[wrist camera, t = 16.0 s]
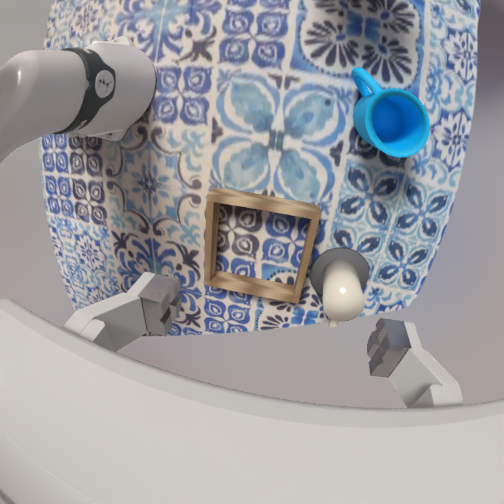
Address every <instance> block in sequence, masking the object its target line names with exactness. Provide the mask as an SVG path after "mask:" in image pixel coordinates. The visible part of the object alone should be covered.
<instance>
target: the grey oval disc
mask: <svg viewBox="0 0 504 504" xmlns="http://www.w3.org/2000/svg"><path fill="white" fill-rule="evenodd" d="M338 259H344V260H348V261H350V262H352V263H353V264H354V265H355V266H356V268H357V272H358V276H359V280H360V285H361V289H363V288H364V286H365V285H366V283H367V280H368V277H369V269H368V265H367V262H366V260H365V259H364V257H363V256H362V255H361V254H360V253H358V252H357V251H355V250H352V249H349V248H333V249H330V250H327V251H325V252H324V253H322V254H321V255H320V256H318V257H317V258H316V260H315V261H314V263H313V264H312V267H311V271H310V280H311V284H312V286H313V287H314V289H315V290H316V291H317V292H318V293H319V294H320V295H322V296H323V285H322V272H323V269H324V268H325V266H326V265H327V264H328V263H330V262H332V261H334V260H338Z"/></svg>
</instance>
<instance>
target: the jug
mask: <svg viewBox="0 0 504 504" xmlns="http://www.w3.org/2000/svg"><path fill="white" fill-rule="evenodd" d="M322 285H323V309H324V312H325V314H326V315H327V316H328V317H329V327H334V328H336V327H337V324H338V322H339V321H349V320H351V319H354V318H356V317H357V316H358V315H359V314H360V313H361V312H362V310H363V308H364V298H363V293H362V289H361V285H360V280H359V276H358V272H357V268H356V266H355V265H354V264H353V263H352V262H350V261H348V260H344V259H338V260H334V261H332V262H330V263H328V264H327V265H326V266H325V268H324V269H323V272H322Z"/></svg>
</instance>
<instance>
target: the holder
mask: <svg viewBox="0 0 504 504" xmlns="http://www.w3.org/2000/svg"><path fill="white" fill-rule="evenodd" d="M220 203H223V204H229V205H235V206H241V207H247V208H253V209H259V210H265V211H271V212H276V213H282V214H287V215H292V216H298V217H303V218H308V219H310V221H309V225H308V230H307V234H306V239H305V243H304V248H303V252H302V257H301V261H300V265H299V269H298V273H297V278H296V282H295V286H294V285H289V284H284V283H278V282H273V281H268V280H263V279H258V278H253V277H248V276H243V275H238V274H233V273H228V272H223V271H218V270H216V261H217V242H218V225H219V209H220ZM319 219H320V205H315V204H310V203H304V202H299V201H294V200H288V199H283V198H277V197H272V196H266V195H260V194H254V193H248V192H241V191H235V190H228V189H221V188H214V189H213V190H212V191H210V192H209V193H208V194H207V209H206V235H205V276H204V285H208V286H212V287H217V288H221V289H226V290H231V291H235V292H240V293H245V294H250V295H255V296H260V297H265V298H270V299H275V300H280V301H286V302H291V303H296V304H298V302H299V298H300V295H301V291H302V287H303V283H304V280H305V276H306V272H307V268H308V264H309V260H310V256H311V252H312V248H313V244H314V240H315V236H316V232H317V227H318V223H319Z"/></svg>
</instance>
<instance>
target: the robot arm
mask: <svg viewBox="0 0 504 504" xmlns="http://www.w3.org/2000/svg"><path fill="white" fill-rule="evenodd" d="M155 81H156V80H155V71H154V67H153V64H152V62H151V60H150V59H149V57H148V56H147V55H146V54H145V53H144V52H142V51H141V50H139V49H137V48H136V47H135V46H134V44H133V42H132V41H131V39H130V38H129V37H127V36H121V37H118V38H116V39H114V40H112V41H109V42H105V41H94V42H93V43H92V44H90V45H88V46H86V47H85V48H80V47H73V48H66V49H62V50H38V51H36V50H35V51H25V52H22V53H19V54H17V55H15V56H14V57H13V58H11V59H10V60H8V61H7V62H6V63H5V64H4V65H3V67H2V68H1V69H0V163H1V162H2V161H3V160H4V159H5V158H6V157H7V156H8V155H9V154H10V153H11V152H12V151H14V150H15V149H16V148H18V147H20V146H21V145H24V144H25V143H28V142H30V141H32V140H35V139H37V138H40V137H42V136H45V135H48V134H66V136H67V137H77V136H78V135H79V137H80V138H84V137H86V136H88V137H92V136H94V137H98V138H102V139H106V140H110V141H120V140H121V139H122V138H123V137H124V135H125V133H126V131H127V129H128V128H129V127H130V126H131V125H132V124H133V123H134V122H136V121H137V120H138V119H139V118H140V117H141V116H142V115H143V114H144V112H145V111H146V110H147V108H148V106H149V104H150V102H151V100H152V97H153V94H154V90H155ZM111 133H112V135H111ZM180 289H181V284H180V281H179V280H178V279H174V278H171V277H167V276H163V275H159V274H155V273H151V272H148V271H147V272H144V273H143V274H142V275H141V277H140V278H139V279H138V280H137V281H136V282H135V283H134V285H133V286H132V287H131V288H130V289H129V291H128V292H127V293H124V292H123V293H120V294H118V295H115V296H113V297H110V298H107V299H105V300H102V301H100V302H97V303H94V304H92V305H89V306H87V307H84V308H82V309H79V310H77V311H76V312H75V313H74V314H73V315H72V316H71V318H70V319H69V320H68V321H67V322H66V323H65V325H64V326H63V327H62V328H61V327H59V326H57V325H55V324H53V323H51V322H50V321H47V320H46V319H44V318H42V317H40V316H38V315H37V314H35V313H33V312H32V311H30V310H28V309H26V308H25V307H23V306H21V305H20V304H18V303H17V302H15V301H14V300H11V299H10V298H3V299H0V504H504V399H500V400H494V401H489V402H482V403H475V404H467V405H464V401H463V398H462V395H461V391H460V388H459V384H458V382H457V381H456V380H455V379H454V378H453V377H452V376H451V375H450V374H449V373H448V372H447V371H446V370H445V369H444V368H443V367H442V366H441V365H440V364H439V363H438V362H437V361H436V360H435V359H434V358H433V357H432V356H431V355H430V354H429V353H428V352H427V351H426V350H423V349H422V346H421V343H420V340H419V337H418V334H417V332H416V328H415V326H414V323H413V322H410V321H399V320H390V319H383V318H380V319H379V320H378V322H377V324H376V329H377V330H375V331H374V332H372V333H371V335H370V337H369V340H368V344H367V352H368V356H370V358H371V360H370V362H369V368H370V375H371V376H379V377H389V378H388V379H389V380H390V382H391V383H392V385H393V386H394V388H395V389H396V391H397V392H398V394H399V395H400V397H401V398H402V400H403V401H404V403H405V405H406V406H407V408H404V409H403V408H400V409H399V408H395V409H394V408H361V407H346V406H333V405H324V404H315V403H307V402H299V401H292V400H286V399H279V398H274V397H268V396H263V395H258V394H252V393H248V392H243V391H239V390H234V389H230V388H226V387H221V386H218V385H213V384H210V383H206V382H202V381H198V380H195V379H192V378H188V377H185V376H181V375H178V374H175V373H172V372H169V371H165V370H162V369H159V368H156V367H154V366H151V365H148V364H145V363H142V362H139V361H137V360H134V359H131V358H129V357H126V356H124V355H121V354H119V353H116V351H117V350H119V349H121V348H122V347H124V346H125V345H127V344H129V343H131V342H132V341H134V340H135V339H137V338H139V337H140V336H142V335H144V334H145V333H147V331H148V332H152V333H155V334H159V335H162V336H166V335H167V334H168V332H169V330H170V328H171V327H172V320H173V319H175V318H177V316H178V314H179V312H180V308H181V302H182V300H181V295H180V294H179V293H178V292H179V290H180Z"/></svg>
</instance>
